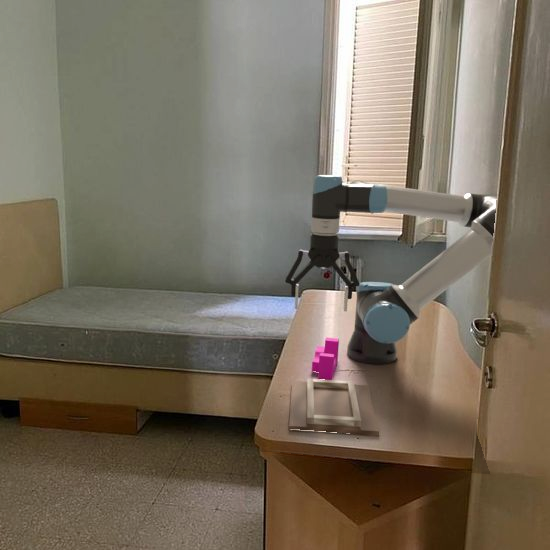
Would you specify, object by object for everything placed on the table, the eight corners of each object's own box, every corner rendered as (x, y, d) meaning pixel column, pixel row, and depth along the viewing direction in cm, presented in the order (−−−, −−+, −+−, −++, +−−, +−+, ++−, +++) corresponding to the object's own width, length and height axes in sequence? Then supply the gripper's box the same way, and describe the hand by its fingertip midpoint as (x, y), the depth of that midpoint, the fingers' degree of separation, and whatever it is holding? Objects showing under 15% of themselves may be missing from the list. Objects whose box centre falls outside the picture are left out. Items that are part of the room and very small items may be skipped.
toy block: (316, 360, 161) (318, 336, 160) (337, 362, 160) (339, 338, 158) (309, 380, 147) (310, 354, 145) (331, 382, 146) (333, 357, 144)
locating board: (367, 389, 142) (368, 379, 141) (379, 436, 119) (380, 425, 118) (292, 385, 143) (292, 375, 142) (288, 430, 120) (289, 419, 119)
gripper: (277, 233, 141) (275, 310, 146) (373, 237, 140) (367, 315, 145) (279, 229, 149) (276, 303, 153) (369, 233, 147) (364, 307, 152)
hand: (320, 309), depth 149 cm, fingers open, 13 cm apart
